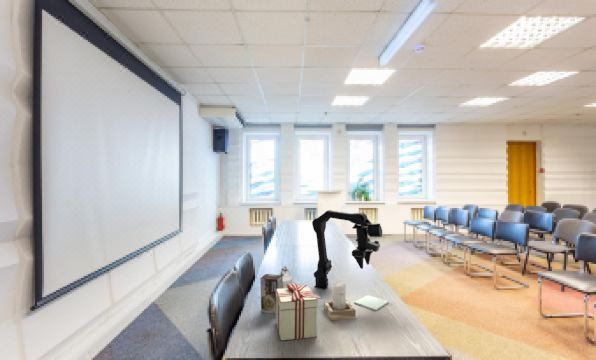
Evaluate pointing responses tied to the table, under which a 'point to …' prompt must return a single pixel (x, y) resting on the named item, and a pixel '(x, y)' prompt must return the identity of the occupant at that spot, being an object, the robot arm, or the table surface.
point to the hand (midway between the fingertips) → (364, 266)
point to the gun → (285, 272)
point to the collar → (339, 311)
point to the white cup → (286, 281)
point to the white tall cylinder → (339, 296)
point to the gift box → (296, 312)
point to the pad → (371, 302)
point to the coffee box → (269, 292)
